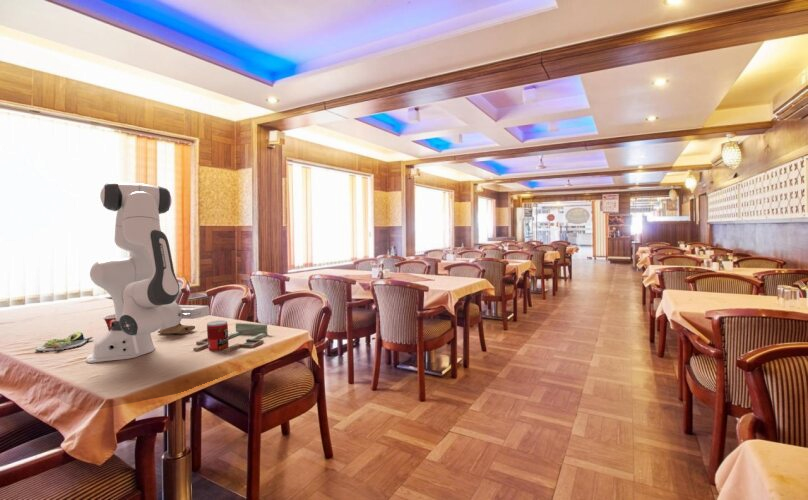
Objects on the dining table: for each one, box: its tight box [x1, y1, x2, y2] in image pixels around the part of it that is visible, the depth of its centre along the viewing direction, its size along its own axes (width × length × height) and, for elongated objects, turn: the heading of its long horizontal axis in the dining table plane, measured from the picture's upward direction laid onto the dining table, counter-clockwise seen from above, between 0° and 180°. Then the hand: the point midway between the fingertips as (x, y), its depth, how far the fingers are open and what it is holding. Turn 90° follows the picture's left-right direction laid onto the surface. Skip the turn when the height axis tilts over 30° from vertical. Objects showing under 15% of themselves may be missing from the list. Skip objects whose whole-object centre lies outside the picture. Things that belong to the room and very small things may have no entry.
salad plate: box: [35, 331, 94, 352], centre depth 174 cm, size 19×18×5 cm
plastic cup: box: [102, 313, 116, 332], centre depth 183 cm, size 11×11×12 cm
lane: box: [193, 322, 268, 354], centre depth 174 cm, size 28×28×5 cm
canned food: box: [206, 320, 229, 352], centre depth 165 cm, size 8×8×11 cm
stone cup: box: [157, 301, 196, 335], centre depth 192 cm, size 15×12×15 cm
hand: (197, 307), depth 155 cm, fingers closed
